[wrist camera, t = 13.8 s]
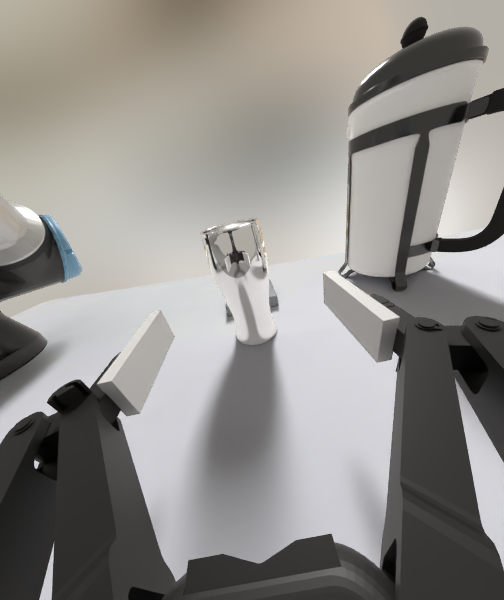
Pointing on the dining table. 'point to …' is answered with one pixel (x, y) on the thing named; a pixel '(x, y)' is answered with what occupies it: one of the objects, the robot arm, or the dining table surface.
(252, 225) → the beer glass
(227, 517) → the dining table surface
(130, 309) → the dining table surface
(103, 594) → the robot arm
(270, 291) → the block
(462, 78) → the coffee press
